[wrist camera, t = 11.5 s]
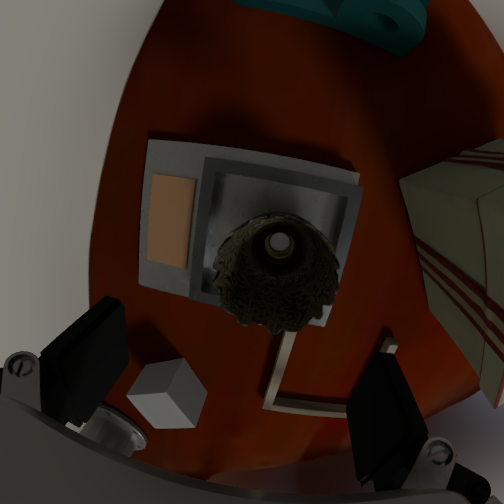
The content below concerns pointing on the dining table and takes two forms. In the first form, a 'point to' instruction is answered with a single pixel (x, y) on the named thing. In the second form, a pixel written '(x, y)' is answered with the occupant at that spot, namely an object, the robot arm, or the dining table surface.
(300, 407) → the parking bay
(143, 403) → the white cube
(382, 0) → the bracket
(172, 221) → the grey flat rectangular tray
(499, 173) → the gift box
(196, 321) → the dining table surface
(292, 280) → the cup
